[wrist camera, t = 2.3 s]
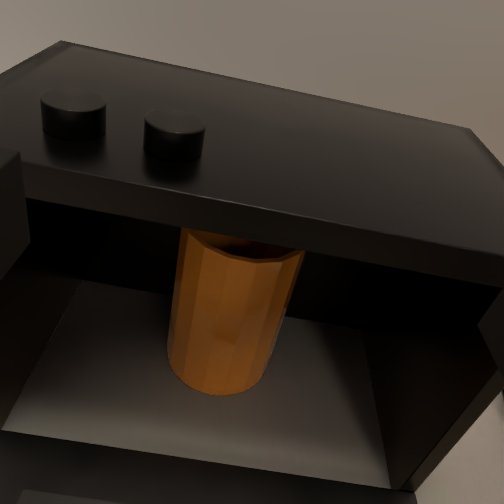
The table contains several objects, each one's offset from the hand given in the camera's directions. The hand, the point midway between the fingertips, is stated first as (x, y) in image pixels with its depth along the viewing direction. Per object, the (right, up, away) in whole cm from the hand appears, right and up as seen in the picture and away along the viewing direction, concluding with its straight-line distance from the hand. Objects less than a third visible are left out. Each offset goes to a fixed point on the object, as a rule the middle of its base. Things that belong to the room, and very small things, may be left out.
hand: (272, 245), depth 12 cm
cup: (-3, -8, +22) cm, 24 cm away
